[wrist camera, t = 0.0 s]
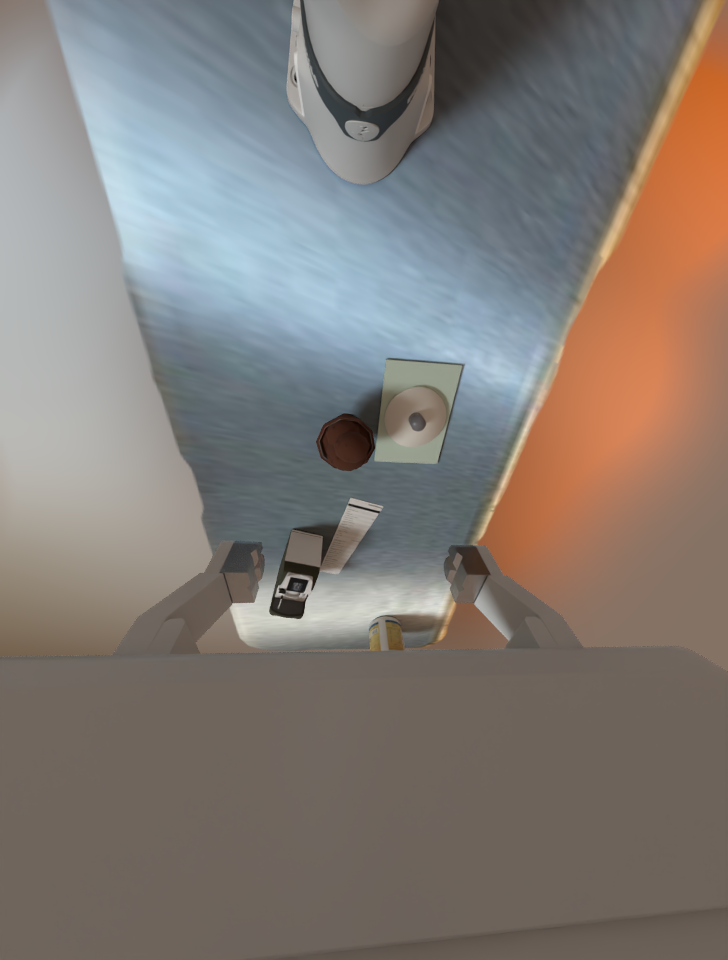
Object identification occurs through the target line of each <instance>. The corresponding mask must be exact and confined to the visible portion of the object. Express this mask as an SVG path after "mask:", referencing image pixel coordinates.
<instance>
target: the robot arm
mask: <svg viewBox="0 0 728 960" xmlns="http://www.w3.org/2000/svg"><path fill="white" fill-rule="evenodd" d="M438 4H439V0H294V2H293V7H292V27H291V39H290V51H289V64H288V76H287V97H288V101H289V104H290V106H291V108H292V109H293V110H294V112H295V113H296V114H297V115H298V117H299V118H300V119H301V120H302V121H303V122H304V123H305V124H306V126H307V128H308V129H309V131H310V133H311V136H312V138H313V141H314V143H315V145H316V147H317V149H318V151H319V153H320V155H321V157H322V158H323V160H324V161H325V163H326V164H327V165H328V166H329V167H330V169H331V170H332V171H333V172H334V173H336V174H337V175H338V176H339V177H341V178H342V179H344V180H346V181H348V182H351V183H355V184H370V183H374V182H377V181H379V180H381V179H382V178H384V177H385V176H387V175H388V174H389V173H390V172H391V171H392V170H393V169H394V168H395V167H396V166H397V164H398V163H399V162H400V160H401V159H402V157H403V155H404V154H405V152H406V150H407V148H408V147H409V145H410V144H411V143H412V141H413V140H415V139H416V138H417V137H419V136H420V135H421V134H422V133H424V132H425V131H426V130H427V129H428V127H429V126H430V124H431V122H432V118H433V114H434V71H435V14H436V10H437V7H438ZM295 78H297V83H296V82H295ZM426 102H427V103H426ZM262 549H263V547H262V543H261V542H251V541H222V542H221V543H220V544H219V546H218V548H217V550H216V552H215V554H214V555H213V557H212V559H211V561H210V563H209V565H208V567H207V569H206V571H205V572H204V573H200V574H198V575H197V576H195V577H194V578H193V579H191V580H190V581H188V582H187V583H185V584H184V585H183V586H181V587H180V588H179V589H177V590H176V591H174V592H173V593H171V594H170V595H169V596H167V597H166V598H164V599H163V600H162V601H160V602H159V603H157V604H156V605H155V606H153V607H152V608H150V609H149V610H148V611H146V612H145V613H143V614H142V615H141V616H139V617H138V618H137V619H136V621H135V622H134V624H133V625H132V627H131V628H130V630H129V631H128V633H127V634H126V636H125V637H124V638H123V640H122V642H121V643H120V644H119V646H118V648H117V649H116V650H115V652H114V654H113V655H90V656H89V655H87V656H25V657H23V656H22V657H0V960H728V671H726V670H724V669H723V668H721V667H720V666H718V665H716V664H715V663H713V662H711V661H710V660H708V659H707V658H705V657H703V656H701V655H699V654H697V653H696V652H694V651H692V650H690V649H687V648H684V647H679V646H647V647H646V646H643V647H587V648H585V647H583V646H582V645H581V643H580V642H579V640H578V639H577V637H576V636H575V634H574V633H573V631H572V630H571V628H570V627H569V626H568V624H567V623H566V621H565V620H564V618H563V617H562V616H561V615H560V614H558V613H557V612H556V611H555V610H553V609H552V608H550V607H549V606H548V605H546V604H545V603H544V602H542V601H541V600H539V599H538V598H537V597H535V596H534V595H533V594H531V593H530V592H529V591H527V590H526V589H524V588H523V587H521V586H520V585H519V584H517V583H516V582H515V581H514V580H512V579H511V578H509V577H508V576H504V575H503V573H502V572H501V570H500V568H499V567H498V565H497V563H496V562H495V560H494V559H493V556H492V555H491V553H490V551H489V550H488V548H487V547H486V546H480V545H474V546H473V545H451V546H450V548H449V551H448V552H449V556H448V557H447V558H446V559H445V562H444V572H445V576H446V579H447V580H448V581H449V582H450V583H451V587H450V590H451V593H452V596H453V598H454V601H455V602H456V603H474V604H475V606H476V607H477V608H478V609H479V610H480V611H481V612H482V613H483V614H484V615H485V616H486V617H487V618H488V619H489V620H490V621H491V622H492V623H493V625H494V626H495V627H496V628H497V629H498V630H499V631H500V632H501V633H502V634H503V635H504V636H505V637H506V638H507V639H508V640H509V642H508V643H507V645H506V646H505V648H504V649H465V650H464V649H463V650H398V651H343V652H342V651H341V652H283V653H281V652H279V653H217V654H200V652H199V650H198V648H197V645H196V642H197V640H198V639H199V638H200V637H201V636H202V635H203V634H204V633H205V632H206V631H207V630H208V629H209V628H210V627H211V626H212V625H213V624H214V623H215V622H216V621H217V620H218V619H219V618H220V616H221V615H223V613H224V612H225V611H226V610H227V609H228V608H229V607H230V606H231V605H232V603H254V602H255V599H256V595H257V592H258V589H259V586H258V581H259V580H261V579H262V576H263V573H264V566H265V559H264V555H263V554H261V552H262Z"/></svg>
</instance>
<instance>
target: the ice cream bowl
mask: <svg viewBox="0 0 728 960" xmlns="http://www.w3.org/2000/svg"><path fill="white" fill-rule="evenodd" d="M316 443H317V446H318V449H319V453H320V456H321V458H322V459H323V460H325V461H326V462H327V463H328V464H330V465H331V466H332V467H334V468H338V469H339V470H343V471H352V470H354V469H357V468H359V467H361V466H362V465H363V464H365V463H367V462H368V460H369V458H370V456H371V455H372V453H373V451H374V449H375V444H374V438H373V432H372V430H371V429H370V428H369V427H368V426H367V425H366V424H364V423H363V422H362V421H361V420H360V419H359V418H357V417H354V416H352V415H350V414H342V415H340V416H338V417H336V418H335V419H333V420H331V421H329V422H327V423H325V424H324V425H323V427H322V429H321V432H320V434H319V436H318V439H317V441H316Z"/></svg>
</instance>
